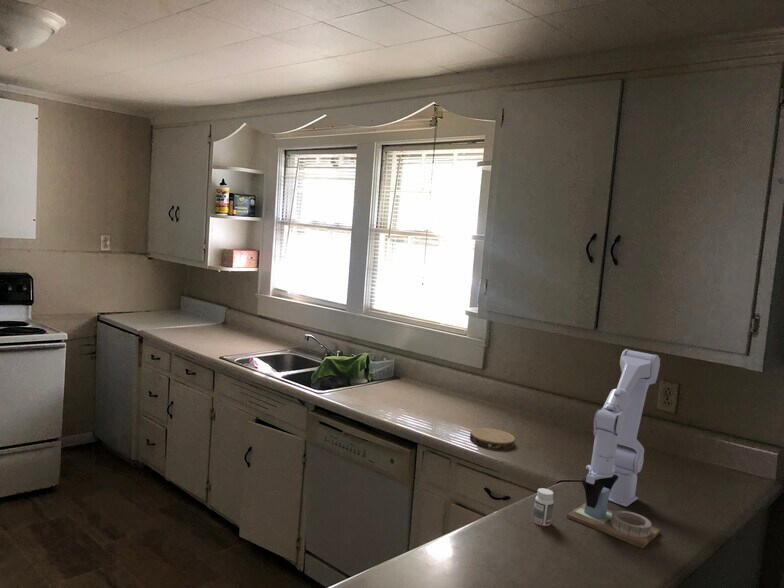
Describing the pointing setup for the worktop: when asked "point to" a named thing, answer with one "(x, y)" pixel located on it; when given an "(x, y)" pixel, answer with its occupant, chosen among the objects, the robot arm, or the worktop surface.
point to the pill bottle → (543, 507)
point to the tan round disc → (492, 438)
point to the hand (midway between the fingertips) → (596, 503)
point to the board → (611, 530)
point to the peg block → (599, 505)
